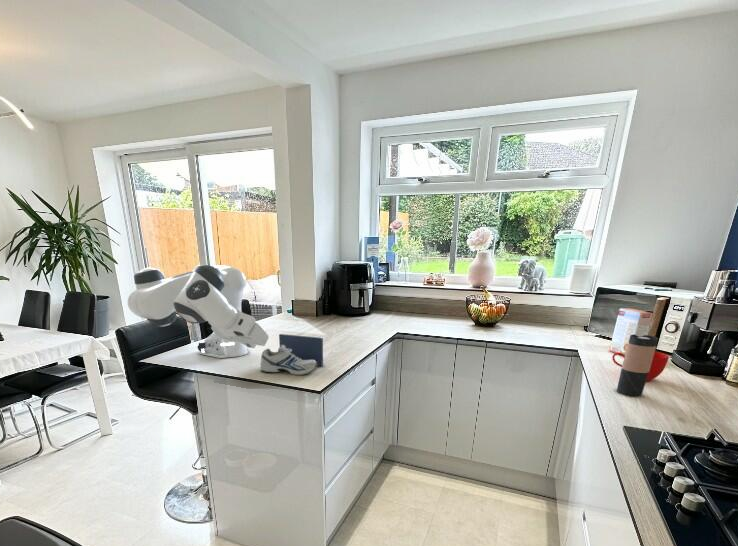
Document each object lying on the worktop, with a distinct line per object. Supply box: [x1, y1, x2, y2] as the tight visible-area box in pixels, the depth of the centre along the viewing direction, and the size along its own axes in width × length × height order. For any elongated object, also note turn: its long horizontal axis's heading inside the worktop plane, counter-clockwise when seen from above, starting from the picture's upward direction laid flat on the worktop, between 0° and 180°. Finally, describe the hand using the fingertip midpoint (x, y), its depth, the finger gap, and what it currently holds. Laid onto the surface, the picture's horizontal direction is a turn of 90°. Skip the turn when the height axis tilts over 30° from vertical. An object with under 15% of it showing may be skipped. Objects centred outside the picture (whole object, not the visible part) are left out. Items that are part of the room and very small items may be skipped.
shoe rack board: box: [278, 333, 324, 368], centre depth 167 cm, size 20×1×12 cm, turn 69°
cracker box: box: [608, 307, 654, 355], centre depth 182 cm, size 14×6×21 cm, turn 179°
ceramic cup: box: [611, 350, 670, 382], centre depth 152 cm, size 13×17×10 cm
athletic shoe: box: [259, 345, 318, 376], centre depth 158 cm, size 10×23×12 cm, turn 89°
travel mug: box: [616, 334, 659, 398], centre depth 135 cm, size 8×8×20 cm
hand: (252, 346), depth 135 cm, fingers closed
